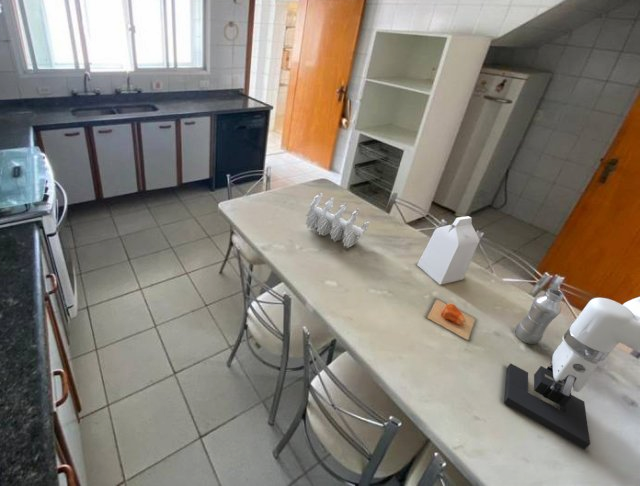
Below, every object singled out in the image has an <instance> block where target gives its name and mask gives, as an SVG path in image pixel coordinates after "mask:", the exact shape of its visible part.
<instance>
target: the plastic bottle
mask: <svg viewBox="0 0 640 486" xmlns="http://www.w3.org/2000/svg"><path fill="white" fill-rule="evenodd" d="M564 297H565V294H564V293H563V292H562V291H560V290H559V289H556V288H552V287H550V288H548V290H546V292H545V293H544V294H542V295H538V296H536V297H535V298H534V299H533V300H532V303H531V307H530V309H529V311H528V312H527V314H526V316H525V317H524V318H523V319H522V320H521V321H520V322H519V323H518V324H516V325H515V328H514V333H515V335H516V337H517V338H518V339H520V340H521V341H522V342H524V343H526V344H529V345H536V344H538V343H540V341H542V338H543V336H544V333H545V331H546V329H547V328H548V326H549V325H550V324H551V323H552V321H554V319H556V318H557V317H558V316H559V315H560V314H561V313H562V306H561V305H562V304H561V302H562V301H563V299H564Z"/></svg>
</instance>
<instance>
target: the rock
mask: <svg viewBox="0 0 640 486" xmlns="http://www.w3.org/2000/svg"><path fill="white" fill-rule="evenodd" d="M426 318H427V319H429V320H430V321H432V322H434V323H436V324H438V325H439V326H442V327H443V328H445V329H447V330H448V331H450V332H451V333H454V334H456V335H457V336H459V337H461V338H462V339H465V340H466V341H469V339H470V336H471V333H472V331H473V327H474V325H475V322H476V318H474V317H472V316H470V315H468V314H467V313H464V312H463V311H461V310H460V309H459V308H458V307H457V306H456V305H455V304H454V303H451V302H447V303H445V302H443V301H441V300H439V299H435V301H434V304H433V306H432V307H431V310H429V313H428V314H427V316H426Z"/></svg>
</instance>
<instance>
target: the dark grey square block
mask: <svg viewBox="0 0 640 486" xmlns="http://www.w3.org/2000/svg"><path fill="white" fill-rule="evenodd" d="M553 381H554V377H553V372H552V371H550V370H548V369H547V367H544V366H543V365H540V367H538V369H537V370H536V372H535V373H534V374H533V391H534V392H535V393H536V394H539V395H540V396H542V393H543V392H544V391H545V389H546V388H547V387H548V386H549V385H550V386H551V385H552V383H553ZM563 381H565V380H563ZM557 386H558V387H560V388H562V387H563V384H561V383H559V382H558V384H557ZM571 395H572V391H571V392H570V395H569V396H564V397H563V398H562V400H561V401H560V402H559V403H558V404H557V405H559V406H560V405H561V406H563V407H564V406H565V404H566V403H567V402H568V401H569V400H570V399H571Z"/></svg>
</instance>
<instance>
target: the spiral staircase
mask: <svg viewBox="0 0 640 486" xmlns="http://www.w3.org/2000/svg"><path fill="white" fill-rule="evenodd" d="M322 199H323V193H322V192H321V193H320V192H318V193H317V195H315V196H314V197H313V199H312V201H311V203H310V204H309V205H308V211H307V213H306V214H305V216H306V217H307V218H306V222H305V225H306V228H307V229H310V230H311V231H313V230H315V229H316V228H317V230H316V232H318V235H319V236H320V235H321V236H323V237H325V235H327V234H329V235H330V239H331V240H333V242H334V243H335V242H336V241H340V240H341V239H343V240H342V243H343V247H344V248H345V247H346V248H347V249H349V248H351V247H353V246H354V245H356V244H357V242H358V241H359V240H360V239H362V238H363V236H364V234H365V232H366V231H367V229H368V227H369V225H370V221H366V222H364V223H362V225H361V226H358V225H356V224H355V222H356V220H357V218H358V215H359V209H360V208H355V209H354V211H353V212H352V213H351V215H350V217H349V219H348V220H346V219H344V218H343V216H344V214H345V211H346V207H347V203H346V202H342V204H341V205H339V207H338V209H337V212H336V213H335V214H334V213H331V211H332V209H333V207H334V205H333V204H334V197H331V198H328V200H327V201H326V202H325V203H324V205H323V208H321V207H319V206H317V205H318V204H320V202H321V200H322Z"/></svg>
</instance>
